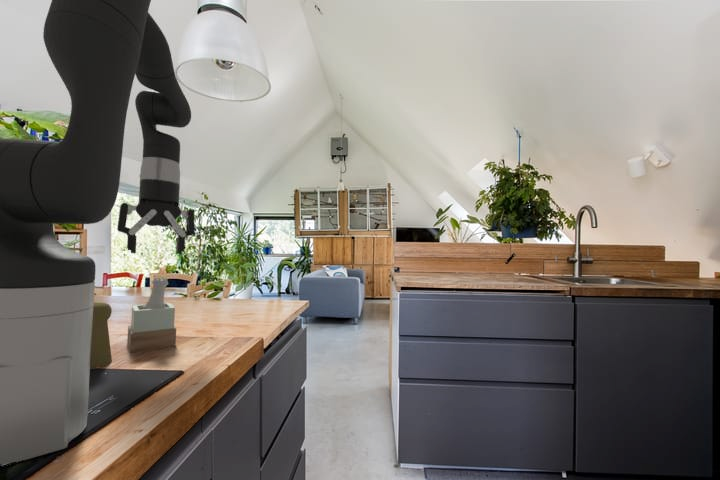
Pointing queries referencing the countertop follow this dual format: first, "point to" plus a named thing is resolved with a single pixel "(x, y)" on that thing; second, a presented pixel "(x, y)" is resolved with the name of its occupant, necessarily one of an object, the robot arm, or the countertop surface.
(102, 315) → the olive tapered piece
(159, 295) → the rook chess piece
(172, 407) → the countertop surface
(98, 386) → the countertop surface
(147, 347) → the walnut base block
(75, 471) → the countertop surface
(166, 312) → the sage top block
